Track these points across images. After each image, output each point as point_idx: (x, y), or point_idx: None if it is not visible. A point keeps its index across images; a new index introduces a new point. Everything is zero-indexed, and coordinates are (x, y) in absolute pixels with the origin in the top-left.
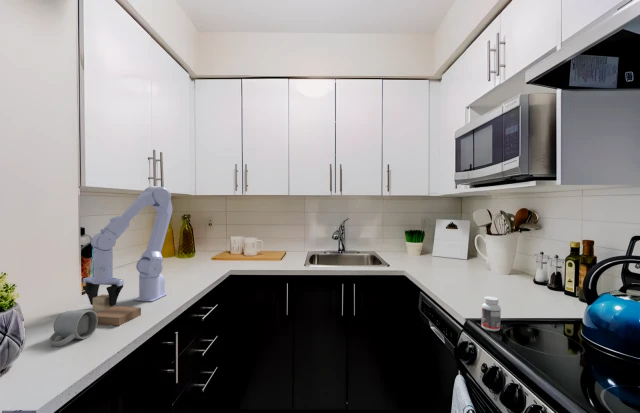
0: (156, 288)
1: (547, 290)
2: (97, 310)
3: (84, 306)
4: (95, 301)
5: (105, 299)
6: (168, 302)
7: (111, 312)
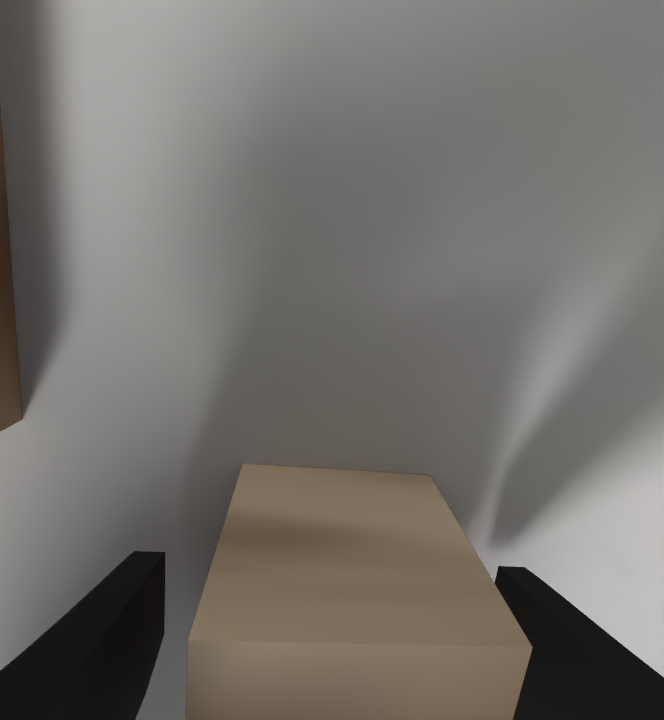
0: None
1: None
2: (353, 474)
3: (629, 590)
4: (424, 577)
5: (195, 648)
6: None
7: None
